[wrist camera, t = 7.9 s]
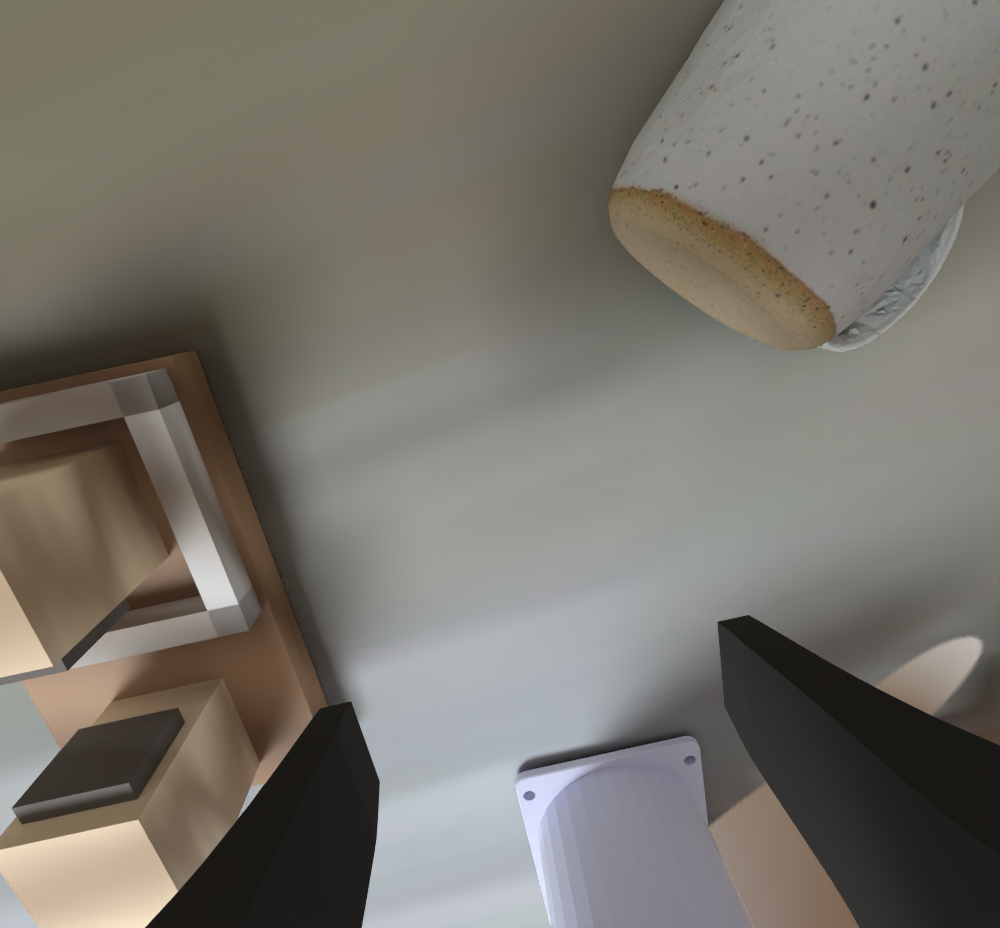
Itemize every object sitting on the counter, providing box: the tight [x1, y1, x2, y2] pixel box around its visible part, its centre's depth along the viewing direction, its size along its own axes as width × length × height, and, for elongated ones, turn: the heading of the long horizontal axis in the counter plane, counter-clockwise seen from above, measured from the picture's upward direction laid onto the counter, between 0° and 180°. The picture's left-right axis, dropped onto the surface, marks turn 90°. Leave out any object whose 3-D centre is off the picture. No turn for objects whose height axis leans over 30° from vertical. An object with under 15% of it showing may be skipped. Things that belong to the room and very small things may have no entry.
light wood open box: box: [0, 350, 329, 928], centre depth 17 cm, size 16×9×7 cm, turn 11°
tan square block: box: [0, 441, 169, 685], centre depth 15 cm, size 5×4×6 cm
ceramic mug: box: [608, 0, 1000, 352], centre depth 14 cm, size 11×8×8 cm
